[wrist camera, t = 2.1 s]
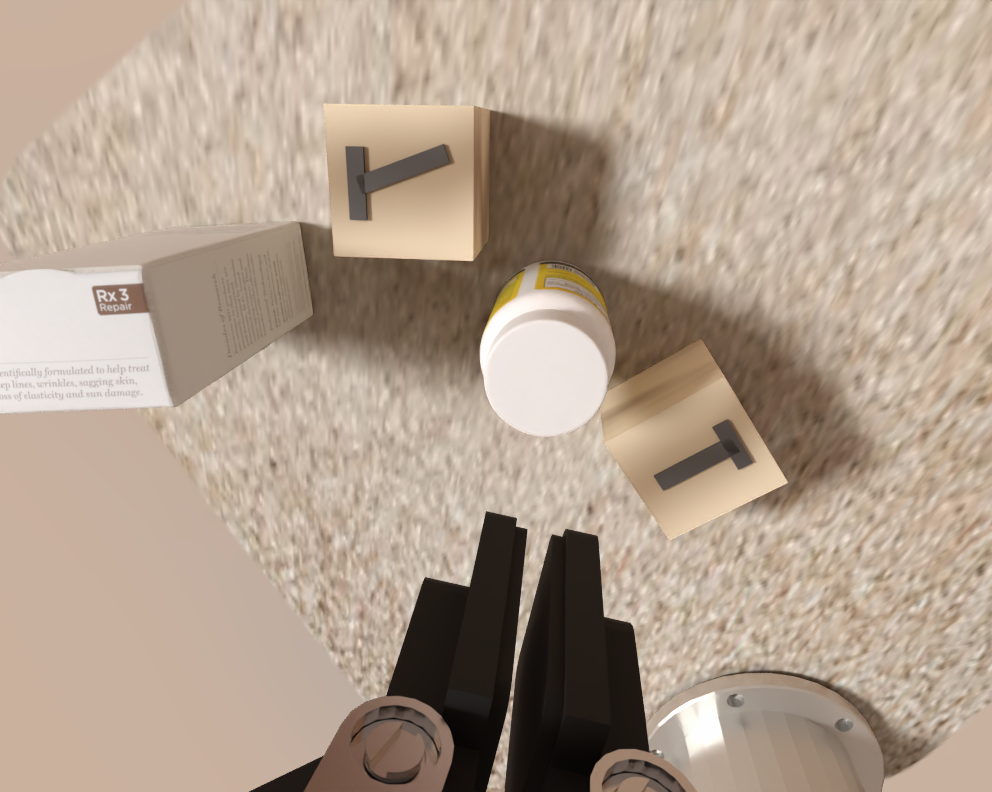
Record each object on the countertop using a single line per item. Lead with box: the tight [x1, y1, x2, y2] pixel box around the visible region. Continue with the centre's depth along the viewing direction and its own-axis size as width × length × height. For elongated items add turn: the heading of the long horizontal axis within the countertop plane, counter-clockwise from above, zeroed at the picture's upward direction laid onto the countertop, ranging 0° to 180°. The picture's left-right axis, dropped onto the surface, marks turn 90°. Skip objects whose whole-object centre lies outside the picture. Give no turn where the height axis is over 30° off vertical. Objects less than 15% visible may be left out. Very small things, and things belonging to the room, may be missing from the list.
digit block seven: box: [323, 104, 490, 261], centre depth 26 cm, size 5×5×5 cm
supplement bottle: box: [480, 261, 616, 437], centre depth 26 cm, size 5×5×8 cm
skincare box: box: [0, 221, 313, 414], centre depth 24 cm, size 6×4×12 cm
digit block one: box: [600, 338, 788, 540], centre depth 28 cm, size 5×5×5 cm
